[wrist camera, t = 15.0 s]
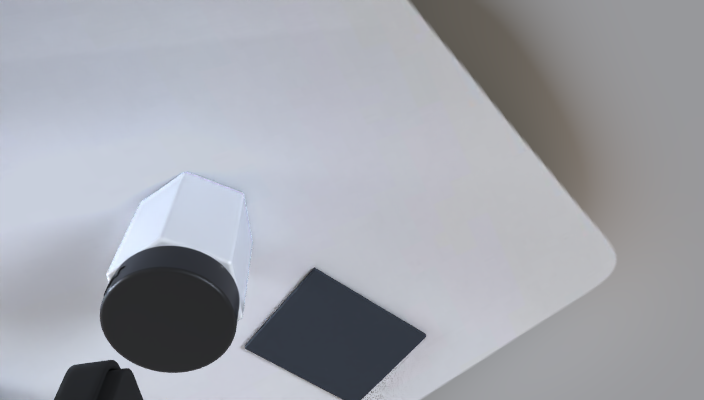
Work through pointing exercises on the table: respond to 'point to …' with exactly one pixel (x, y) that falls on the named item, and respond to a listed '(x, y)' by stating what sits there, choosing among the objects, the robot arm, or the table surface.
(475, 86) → the table surface
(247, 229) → the jar
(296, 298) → the coaster mat
